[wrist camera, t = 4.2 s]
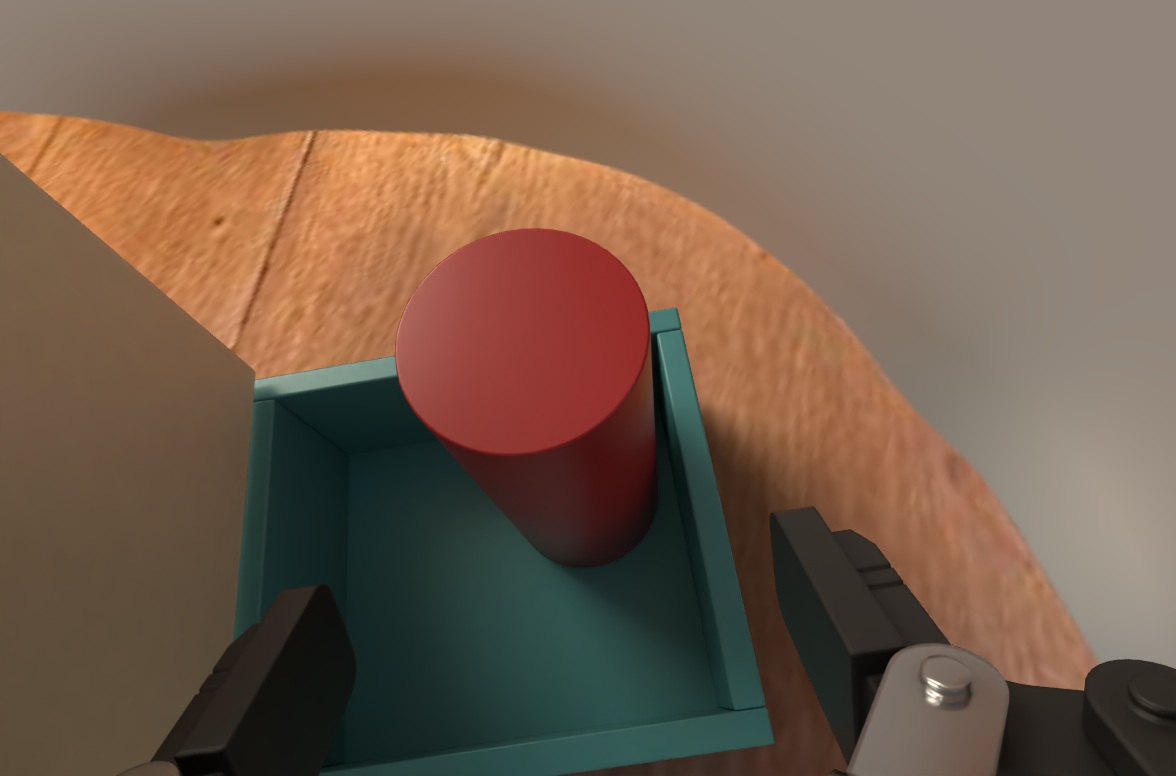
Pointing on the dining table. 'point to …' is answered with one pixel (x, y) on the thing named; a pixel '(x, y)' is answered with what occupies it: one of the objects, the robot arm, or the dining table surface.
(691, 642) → the teal open box
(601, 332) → the plain red cylinder
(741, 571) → the dining table surface
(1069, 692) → the robot arm
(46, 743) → the lid
